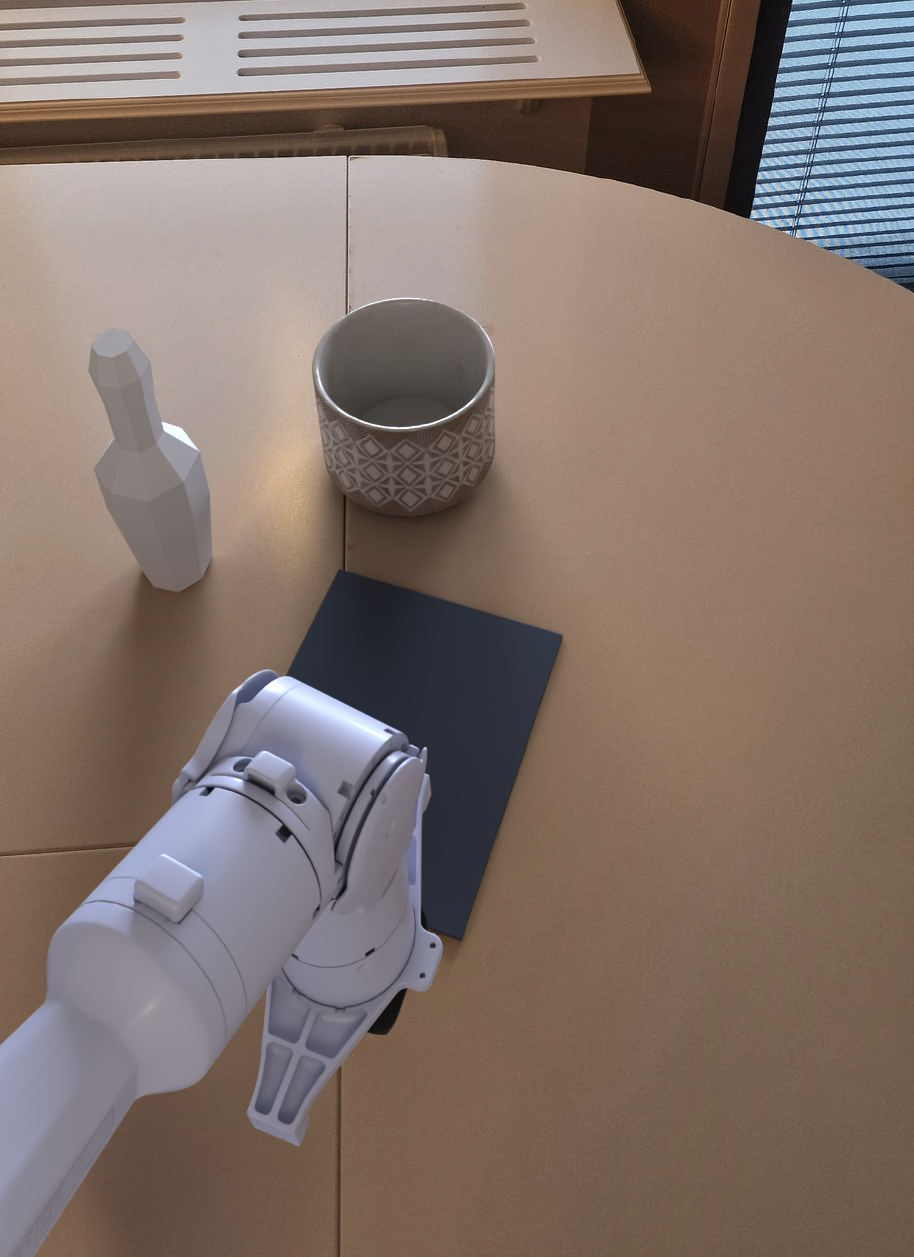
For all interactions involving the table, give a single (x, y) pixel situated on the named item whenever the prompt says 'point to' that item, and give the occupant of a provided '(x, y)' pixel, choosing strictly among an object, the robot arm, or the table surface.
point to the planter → (406, 405)
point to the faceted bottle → (150, 470)
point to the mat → (437, 712)
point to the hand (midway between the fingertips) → (364, 1002)
